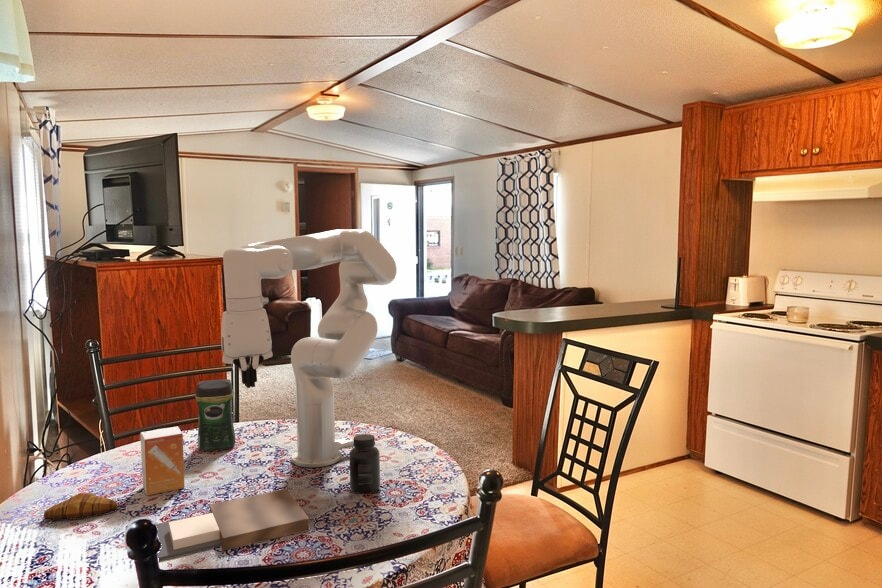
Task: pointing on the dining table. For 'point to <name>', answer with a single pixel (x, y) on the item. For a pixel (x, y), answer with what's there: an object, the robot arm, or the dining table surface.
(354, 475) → the supplement bottle
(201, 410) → the coffee jar
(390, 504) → the dining table surface
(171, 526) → the block
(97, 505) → the croissant
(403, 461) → the dining table surface
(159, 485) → the small box
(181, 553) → the mat
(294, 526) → the board
